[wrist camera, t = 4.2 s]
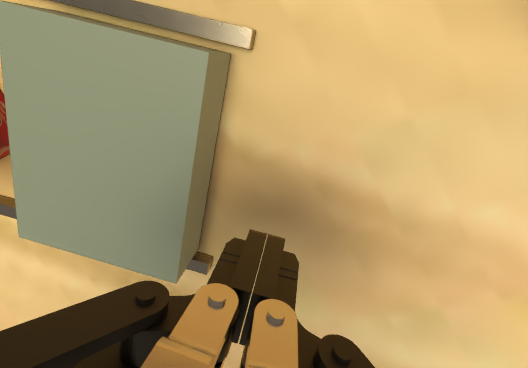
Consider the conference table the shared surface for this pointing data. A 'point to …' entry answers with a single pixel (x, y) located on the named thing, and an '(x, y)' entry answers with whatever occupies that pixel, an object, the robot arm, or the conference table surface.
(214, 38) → the vise
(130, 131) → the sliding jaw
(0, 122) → the ink box
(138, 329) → the robot arm
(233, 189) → the conference table surface
